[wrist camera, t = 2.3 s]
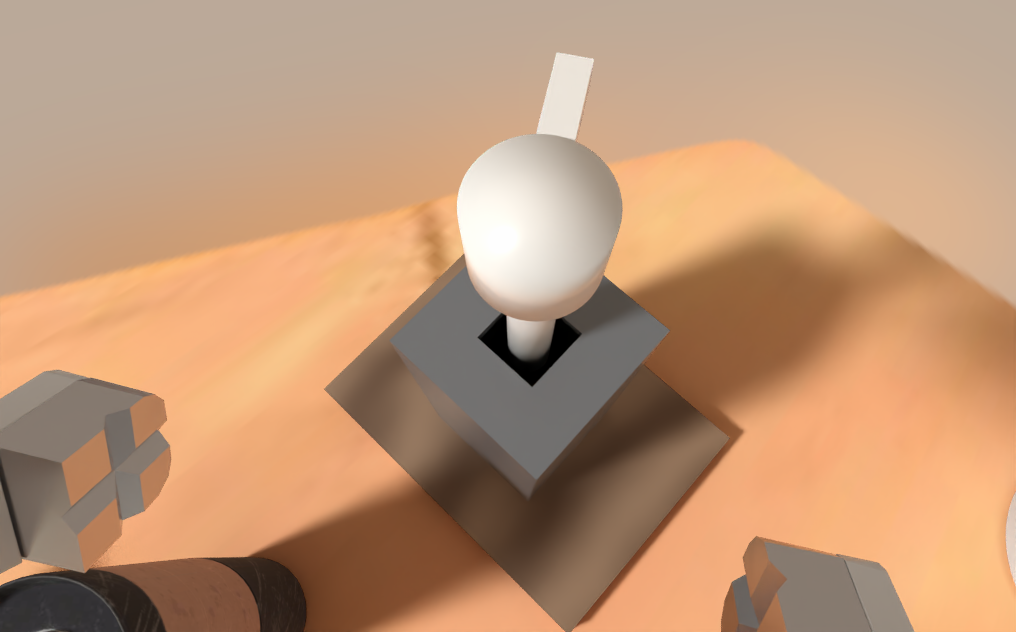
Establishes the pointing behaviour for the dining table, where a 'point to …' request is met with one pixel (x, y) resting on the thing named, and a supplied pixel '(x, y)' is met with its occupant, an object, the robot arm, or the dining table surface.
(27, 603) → the travel mug
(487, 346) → the grey upright block
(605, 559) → the base plate
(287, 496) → the dining table surface
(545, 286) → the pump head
